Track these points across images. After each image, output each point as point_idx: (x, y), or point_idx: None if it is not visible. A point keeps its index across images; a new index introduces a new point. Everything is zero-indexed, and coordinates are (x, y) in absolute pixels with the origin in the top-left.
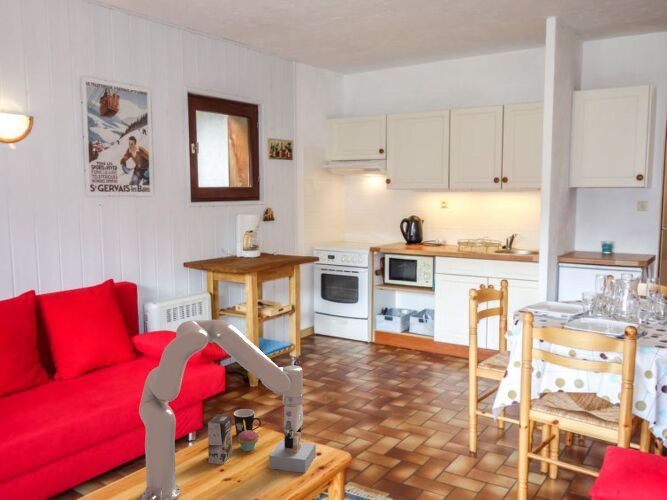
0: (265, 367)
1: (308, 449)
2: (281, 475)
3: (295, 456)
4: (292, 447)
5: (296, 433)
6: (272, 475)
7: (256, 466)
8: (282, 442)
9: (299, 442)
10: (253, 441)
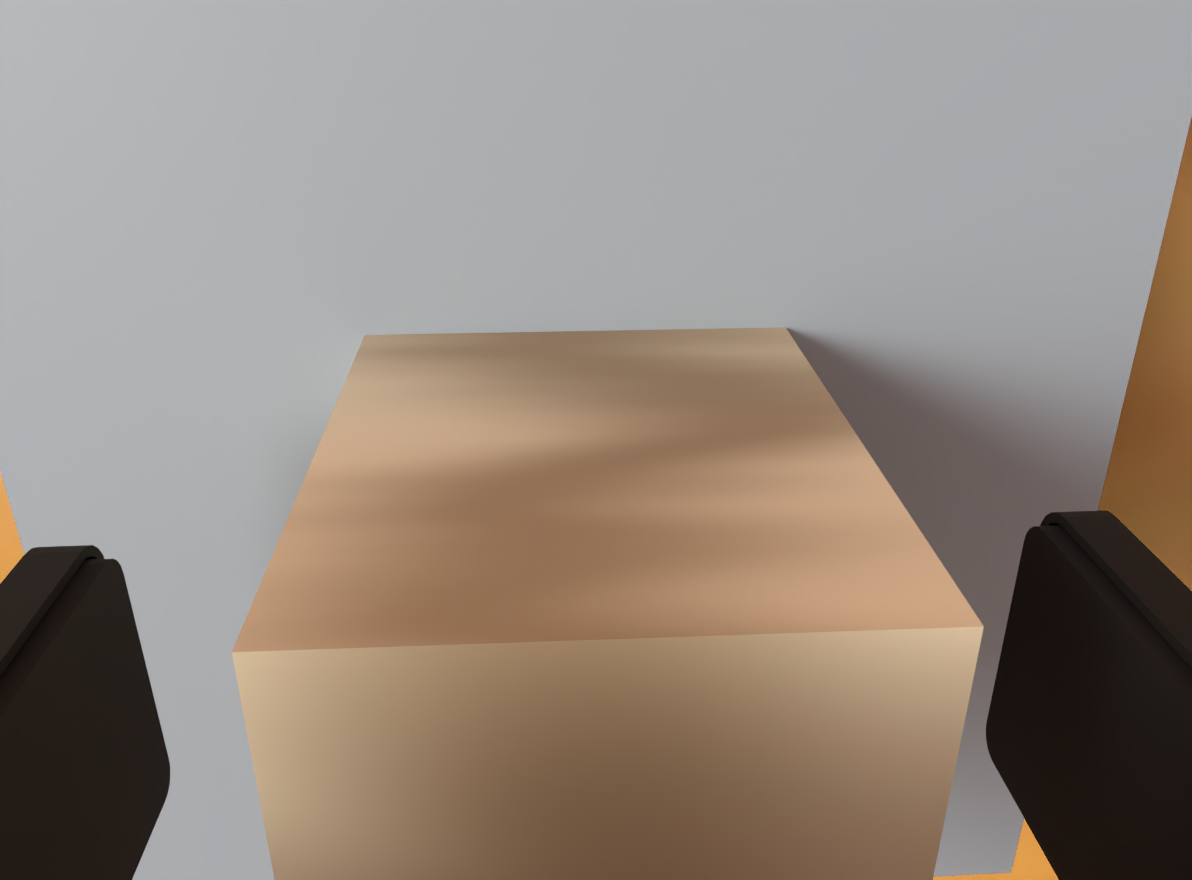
0: None
1: (423, 40)
2: (1163, 396)
3: (1016, 303)
4: (1110, 530)
5: (450, 805)
6: (1164, 544)
7: None
8: (252, 859)
9: (540, 437)
10: None
